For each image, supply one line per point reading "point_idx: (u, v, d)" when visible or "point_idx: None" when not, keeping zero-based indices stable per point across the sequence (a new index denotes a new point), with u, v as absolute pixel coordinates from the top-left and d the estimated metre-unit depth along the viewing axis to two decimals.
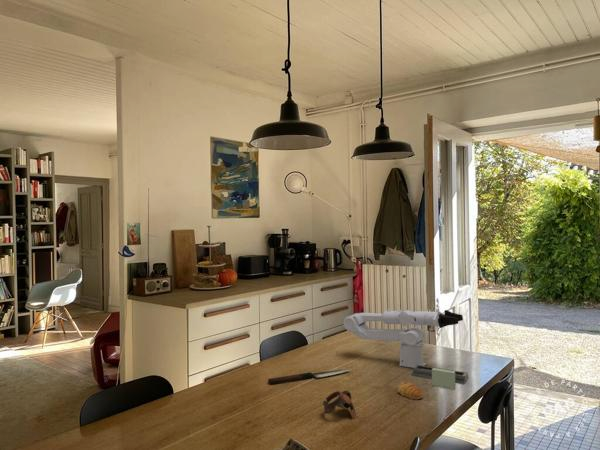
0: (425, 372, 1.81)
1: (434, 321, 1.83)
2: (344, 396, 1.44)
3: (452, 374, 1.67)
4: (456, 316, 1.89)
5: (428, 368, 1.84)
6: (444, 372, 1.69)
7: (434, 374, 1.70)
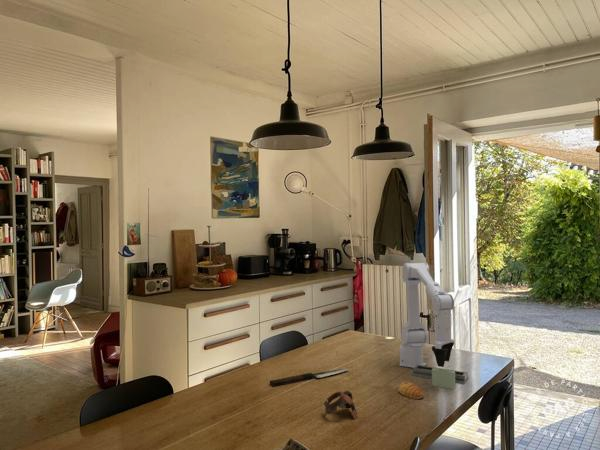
0: (425, 372, 1.81)
1: (438, 345, 1.63)
2: (345, 396, 1.44)
3: (452, 374, 1.67)
4: (447, 355, 1.73)
5: (428, 368, 1.84)
6: (444, 372, 1.69)
7: (434, 374, 1.70)
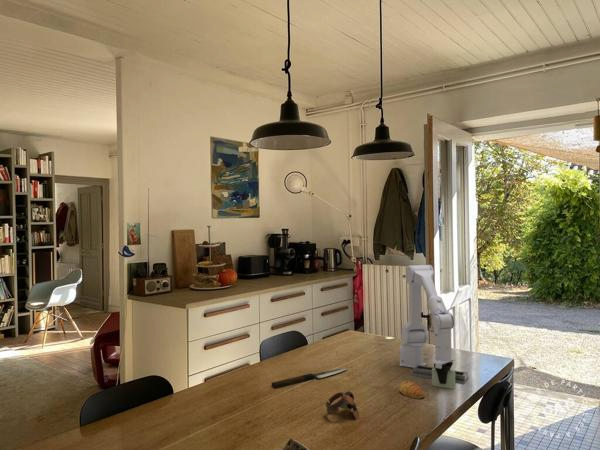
0: (425, 372, 1.81)
1: (438, 365, 1.63)
2: (347, 397, 1.44)
3: (452, 374, 1.67)
4: None
5: (428, 368, 1.84)
6: None
7: (434, 374, 1.70)
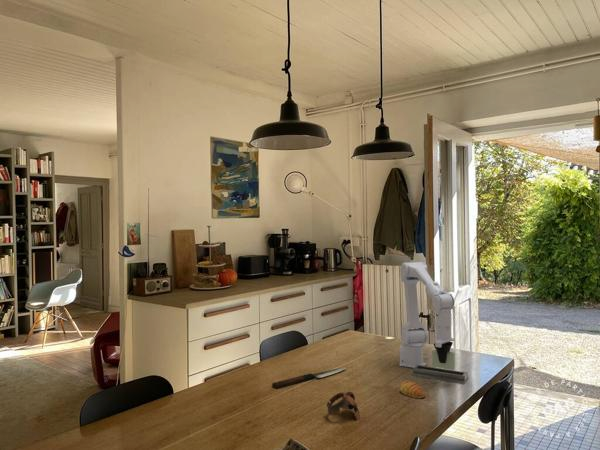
0: (425, 372, 1.81)
1: (438, 344, 1.66)
2: (348, 397, 1.43)
3: (452, 355, 1.70)
4: None
5: (428, 368, 1.84)
6: None
7: (434, 355, 1.73)
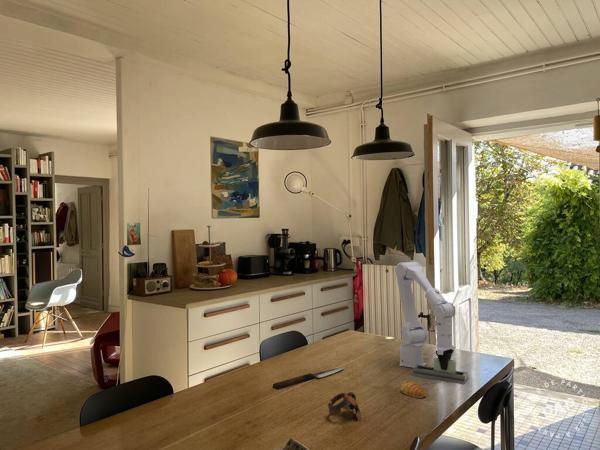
0: (425, 372, 1.81)
1: (440, 351, 1.73)
2: (349, 398, 1.43)
3: (453, 363, 1.77)
4: None
5: (428, 368, 1.84)
6: None
7: (436, 363, 1.80)
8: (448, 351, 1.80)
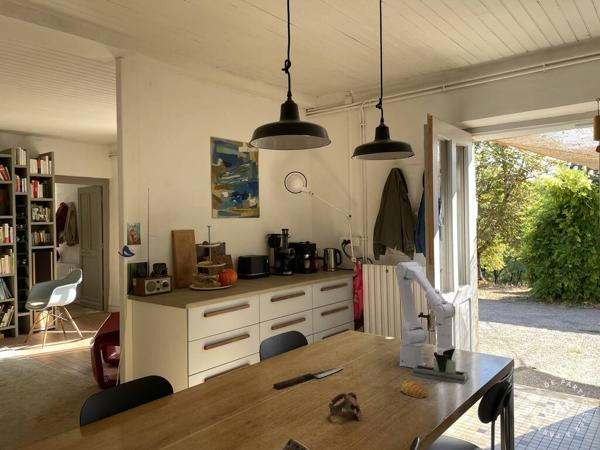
0: (425, 372, 1.81)
1: (440, 352, 1.73)
2: (350, 398, 1.43)
3: (453, 363, 1.77)
4: None
5: (428, 368, 1.84)
6: None
7: (436, 363, 1.80)
8: (450, 350, 1.82)
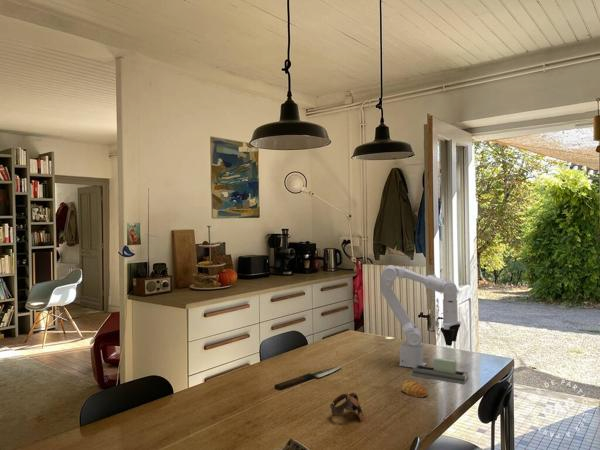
0: (425, 372, 1.81)
1: (446, 326, 1.84)
2: (352, 399, 1.42)
3: (453, 363, 1.77)
4: (454, 335, 1.94)
5: (428, 368, 1.84)
6: (445, 361, 1.78)
7: (436, 363, 1.80)
8: (455, 325, 1.93)
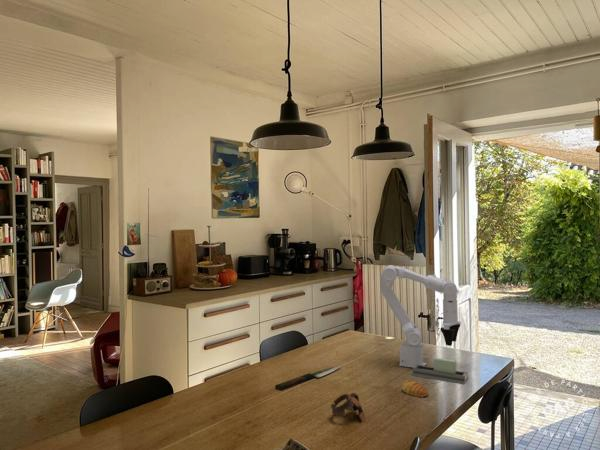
0: (425, 372, 1.81)
1: (446, 326, 1.84)
2: (353, 399, 1.42)
3: (453, 363, 1.77)
4: (454, 335, 1.94)
5: (428, 368, 1.84)
6: (445, 361, 1.78)
7: (436, 363, 1.80)
8: (455, 325, 1.93)
